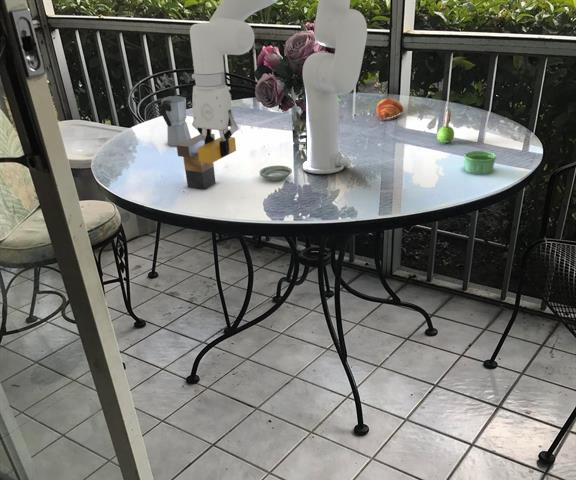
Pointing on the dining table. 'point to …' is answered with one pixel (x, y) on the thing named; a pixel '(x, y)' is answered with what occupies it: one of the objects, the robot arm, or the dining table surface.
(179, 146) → the lower bar
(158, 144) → the dining table surface
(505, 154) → the dining table surface
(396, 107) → the croissant
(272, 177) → the saucer
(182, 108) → the coffee maker
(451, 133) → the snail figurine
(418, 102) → the dining table surface
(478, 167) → the ramekin
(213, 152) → the top bar
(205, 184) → the tower
